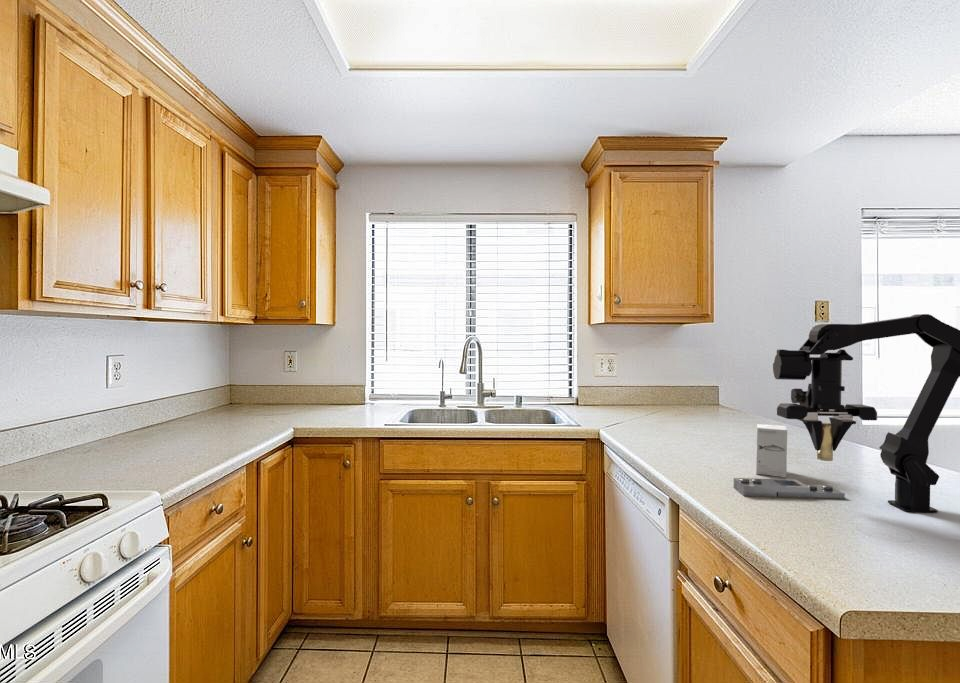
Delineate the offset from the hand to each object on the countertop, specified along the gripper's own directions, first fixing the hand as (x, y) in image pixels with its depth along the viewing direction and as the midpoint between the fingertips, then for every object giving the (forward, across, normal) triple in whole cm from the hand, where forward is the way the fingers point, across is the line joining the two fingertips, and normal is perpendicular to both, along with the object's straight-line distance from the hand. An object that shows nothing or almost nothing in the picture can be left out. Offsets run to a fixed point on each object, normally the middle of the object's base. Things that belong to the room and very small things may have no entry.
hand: (825, 450), depth 126 cm
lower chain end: (+12, +1, -7) cm, 14 cm away
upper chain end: (+12, +9, -7) cm, 16 cm away
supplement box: (+12, +1, -26) cm, 29 cm away
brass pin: (+2, 0, 0) cm, 2 cm away
